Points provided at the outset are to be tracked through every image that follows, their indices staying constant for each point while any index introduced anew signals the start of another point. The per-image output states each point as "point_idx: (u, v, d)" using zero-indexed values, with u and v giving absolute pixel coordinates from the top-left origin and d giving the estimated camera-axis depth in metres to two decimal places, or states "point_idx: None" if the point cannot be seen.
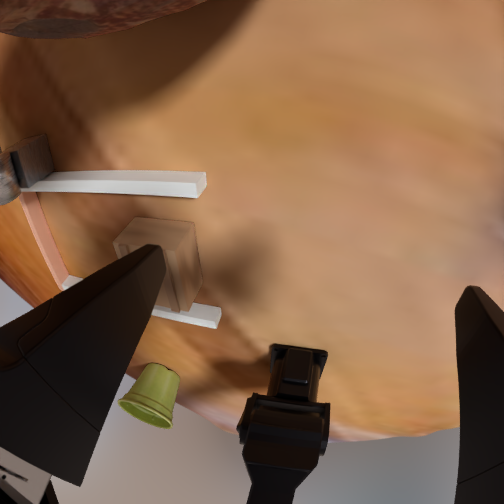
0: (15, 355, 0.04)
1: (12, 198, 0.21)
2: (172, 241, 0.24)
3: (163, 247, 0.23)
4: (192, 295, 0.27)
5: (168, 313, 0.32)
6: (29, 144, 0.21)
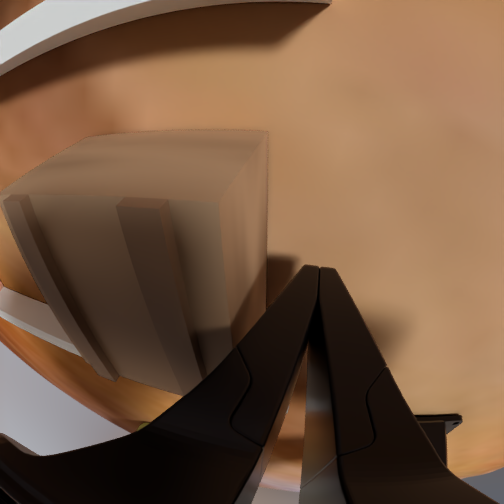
0: (241, 447, 0.03)
1: None
2: (198, 169, 0.05)
3: (159, 191, 0.05)
4: None
5: None
6: None
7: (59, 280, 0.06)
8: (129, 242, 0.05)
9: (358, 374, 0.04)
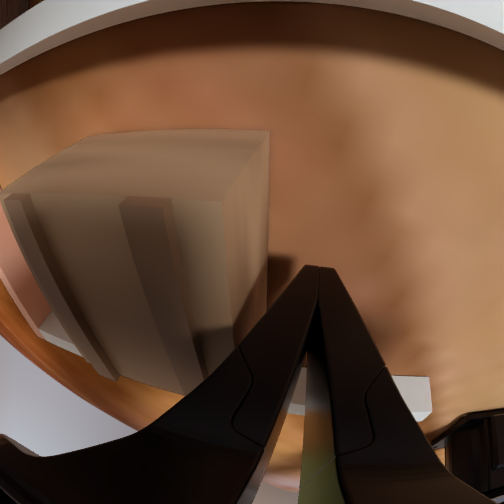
0: (243, 447, 0.03)
1: None
2: (201, 169, 0.05)
3: (161, 191, 0.05)
4: None
5: None
6: None
7: (60, 279, 0.06)
8: (132, 241, 0.05)
9: (357, 374, 0.04)
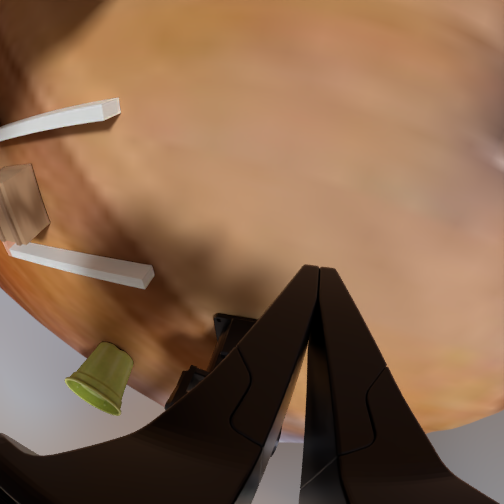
0: (241, 447, 0.03)
1: None
2: (7, 177, 0.21)
3: None
4: (31, 230, 0.25)
5: (97, 272, 0.27)
6: None
7: None
8: None
9: (358, 374, 0.04)
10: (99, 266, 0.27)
